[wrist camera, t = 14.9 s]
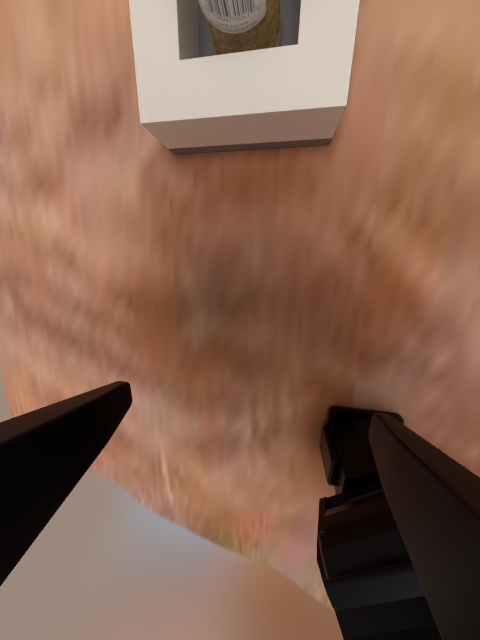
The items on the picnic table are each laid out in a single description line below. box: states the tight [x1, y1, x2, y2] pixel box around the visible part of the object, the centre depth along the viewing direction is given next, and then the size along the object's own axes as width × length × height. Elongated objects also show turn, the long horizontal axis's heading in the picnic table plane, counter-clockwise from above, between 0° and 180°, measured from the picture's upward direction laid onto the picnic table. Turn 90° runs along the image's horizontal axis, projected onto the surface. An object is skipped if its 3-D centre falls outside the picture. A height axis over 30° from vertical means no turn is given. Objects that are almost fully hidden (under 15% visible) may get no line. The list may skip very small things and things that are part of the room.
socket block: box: [129, 0, 360, 154], centre depth 13 cm, size 12×12×4 cm
